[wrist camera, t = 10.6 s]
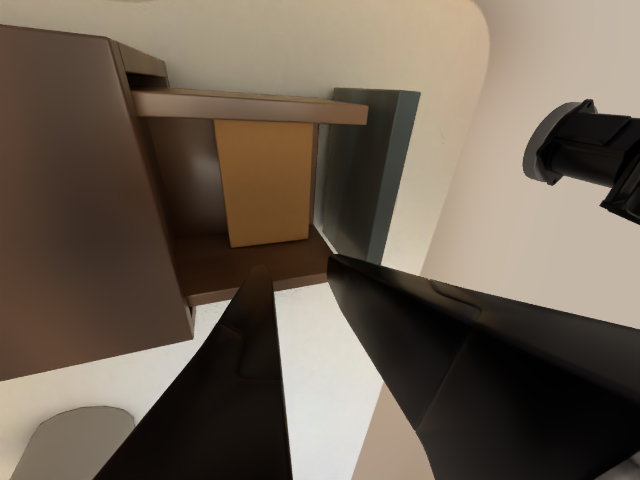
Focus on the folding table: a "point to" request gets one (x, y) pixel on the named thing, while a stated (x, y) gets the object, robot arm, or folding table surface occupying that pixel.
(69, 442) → the cup
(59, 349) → the cabinet
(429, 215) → the folding table surface
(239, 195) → the block
